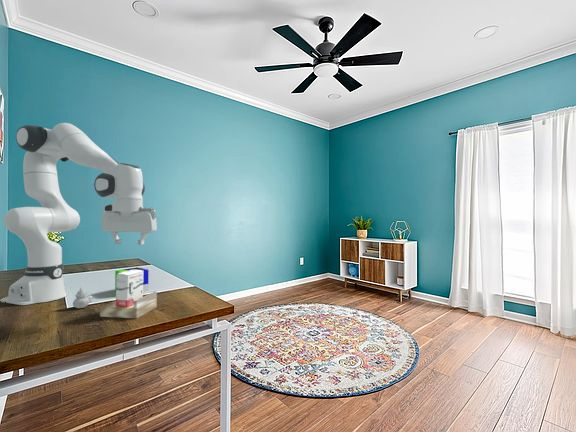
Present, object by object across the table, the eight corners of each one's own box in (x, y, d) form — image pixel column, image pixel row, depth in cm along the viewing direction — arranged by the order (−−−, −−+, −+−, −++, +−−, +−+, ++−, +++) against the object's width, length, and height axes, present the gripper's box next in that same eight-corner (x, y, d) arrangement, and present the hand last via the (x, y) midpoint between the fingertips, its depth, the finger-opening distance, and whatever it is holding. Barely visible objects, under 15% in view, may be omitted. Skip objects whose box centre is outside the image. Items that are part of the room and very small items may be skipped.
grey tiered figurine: (69, 308, 107) (69, 287, 107) (88, 303, 113) (88, 284, 113) (77, 311, 105) (77, 289, 105) (96, 306, 111) (96, 285, 110)
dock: (99, 316, 99) (99, 299, 99) (123, 305, 111) (123, 290, 111) (136, 318, 98) (136, 301, 98) (156, 306, 110) (156, 291, 110)
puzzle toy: (148, 290, 133) (148, 269, 133) (126, 295, 124) (126, 273, 124) (136, 287, 138) (136, 267, 138) (115, 292, 130) (115, 270, 130)
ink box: (127, 307, 100) (127, 274, 100) (115, 306, 101) (115, 273, 100) (144, 300, 108) (144, 269, 108) (132, 299, 109) (132, 269, 109)
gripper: (160, 207, 107) (160, 244, 107) (111, 207, 109) (110, 242, 109) (150, 207, 100) (150, 245, 100) (98, 206, 103) (98, 244, 103)
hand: (129, 244), depth 105 cm, fingers open, 8 cm apart
